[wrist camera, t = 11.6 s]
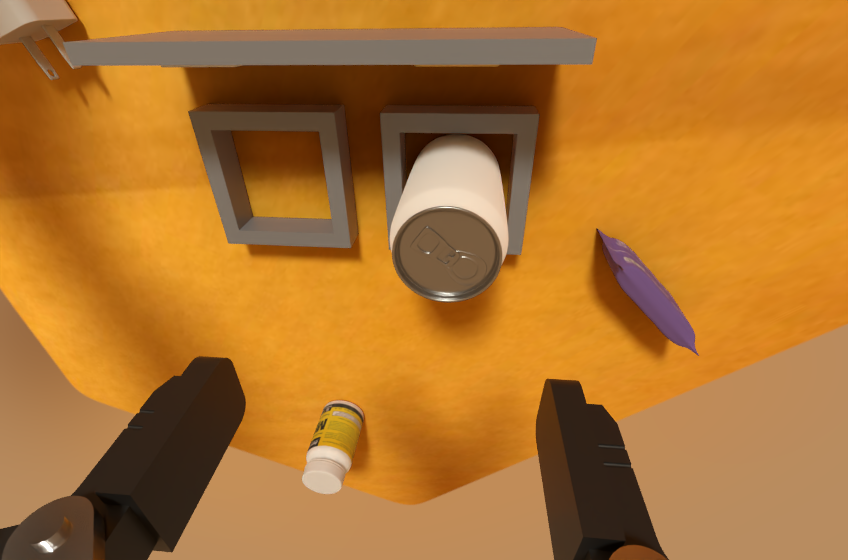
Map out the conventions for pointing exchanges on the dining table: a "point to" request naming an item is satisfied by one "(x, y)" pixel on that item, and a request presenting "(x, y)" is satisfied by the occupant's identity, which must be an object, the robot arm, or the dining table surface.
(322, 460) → the supplement bottle
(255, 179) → the dining table surface
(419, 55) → the dock
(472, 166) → the can
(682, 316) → the snack package
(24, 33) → the usb wall charger
